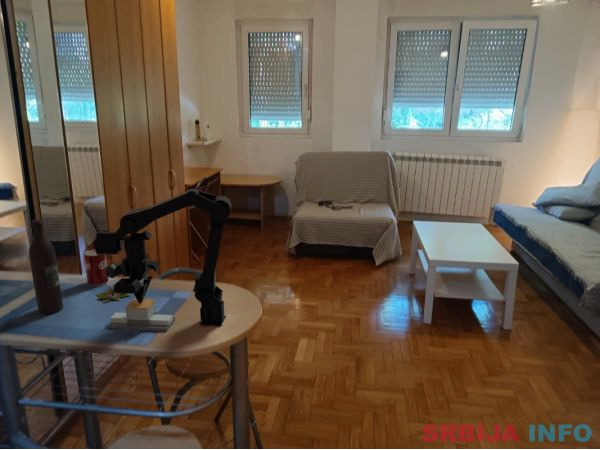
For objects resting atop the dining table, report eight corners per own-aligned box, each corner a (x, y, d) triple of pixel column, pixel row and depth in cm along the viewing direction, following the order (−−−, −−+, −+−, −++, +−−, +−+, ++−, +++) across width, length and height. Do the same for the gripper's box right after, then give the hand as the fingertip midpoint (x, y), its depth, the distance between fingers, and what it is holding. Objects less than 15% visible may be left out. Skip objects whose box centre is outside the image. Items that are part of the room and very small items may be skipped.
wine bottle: (52, 316, 137) (37, 224, 128) (33, 313, 138) (17, 222, 130) (68, 306, 143) (55, 218, 135) (49, 303, 145) (35, 216, 136)
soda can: (85, 287, 157) (81, 256, 154) (89, 279, 164) (85, 249, 160) (107, 285, 159) (103, 255, 156) (110, 278, 166) (106, 248, 162)
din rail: (175, 319, 135) (174, 312, 135) (167, 331, 129) (166, 323, 128) (119, 317, 137) (118, 309, 136) (108, 328, 130) (107, 320, 129)
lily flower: (100, 308, 143) (99, 295, 142) (89, 295, 152) (88, 283, 151) (136, 297, 151) (135, 285, 150) (124, 286, 160) (123, 275, 158)
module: (156, 316, 135) (154, 299, 133) (148, 326, 129) (147, 308, 128) (136, 315, 135) (134, 298, 134) (127, 325, 130) (125, 307, 128)
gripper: (123, 242, 136) (128, 288, 140) (92, 264, 118) (98, 315, 122) (158, 243, 135) (162, 289, 139) (131, 265, 117) (137, 317, 122)
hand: (140, 302), depth 131 cm, fingers closed
